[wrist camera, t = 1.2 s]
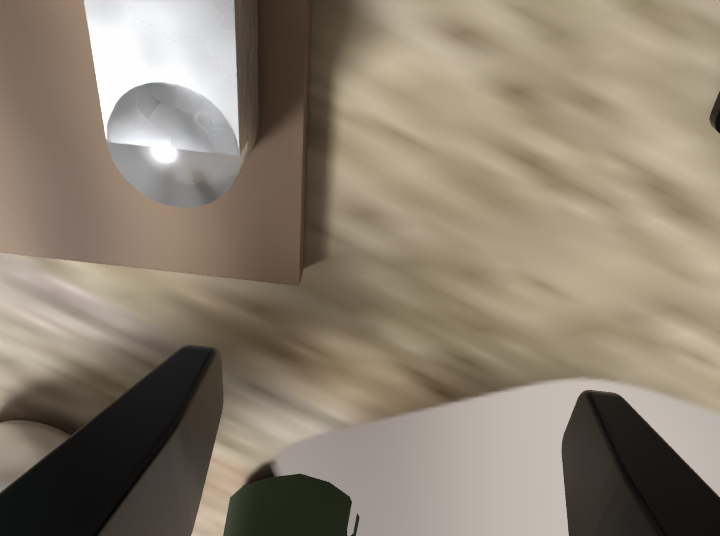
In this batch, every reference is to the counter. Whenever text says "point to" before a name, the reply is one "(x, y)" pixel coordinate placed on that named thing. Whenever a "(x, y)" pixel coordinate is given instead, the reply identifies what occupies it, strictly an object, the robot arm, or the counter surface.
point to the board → (107, 185)
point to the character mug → (289, 508)
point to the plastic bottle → (25, 447)
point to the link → (177, 92)
